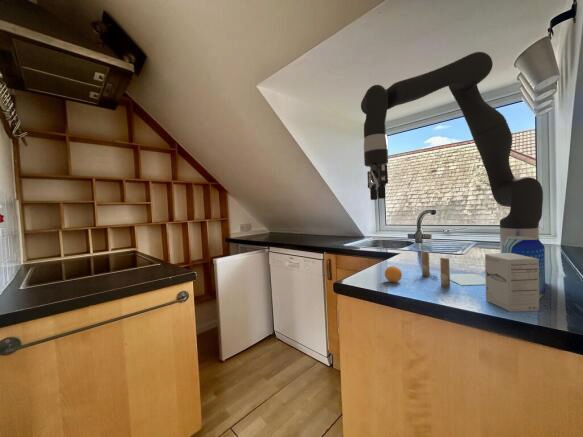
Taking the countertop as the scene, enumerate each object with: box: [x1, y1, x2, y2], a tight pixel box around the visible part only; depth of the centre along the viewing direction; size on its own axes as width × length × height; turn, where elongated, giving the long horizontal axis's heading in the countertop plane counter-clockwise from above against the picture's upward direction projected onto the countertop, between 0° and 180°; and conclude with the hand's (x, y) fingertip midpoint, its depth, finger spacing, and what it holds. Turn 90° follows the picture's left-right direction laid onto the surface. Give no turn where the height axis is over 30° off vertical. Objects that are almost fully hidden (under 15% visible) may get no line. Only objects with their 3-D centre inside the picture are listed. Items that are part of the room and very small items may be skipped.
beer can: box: [502, 236, 546, 299], centre depth 67 cm, size 8×8×16 cm
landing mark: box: [439, 273, 486, 287], centre depth 82 cm, size 12×12×1 cm
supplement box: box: [484, 253, 540, 313], centre depth 60 cm, size 7×7×13 cm
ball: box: [384, 265, 403, 283], centre depth 83 cm, size 6×6×6 cm
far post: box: [420, 250, 431, 278], centre depth 89 cm, size 2×2×9 cm
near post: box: [439, 257, 451, 289], centre depth 76 cm, size 2×2×9 cm
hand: (377, 199), depth 81 cm, fingers open, 8 cm apart
